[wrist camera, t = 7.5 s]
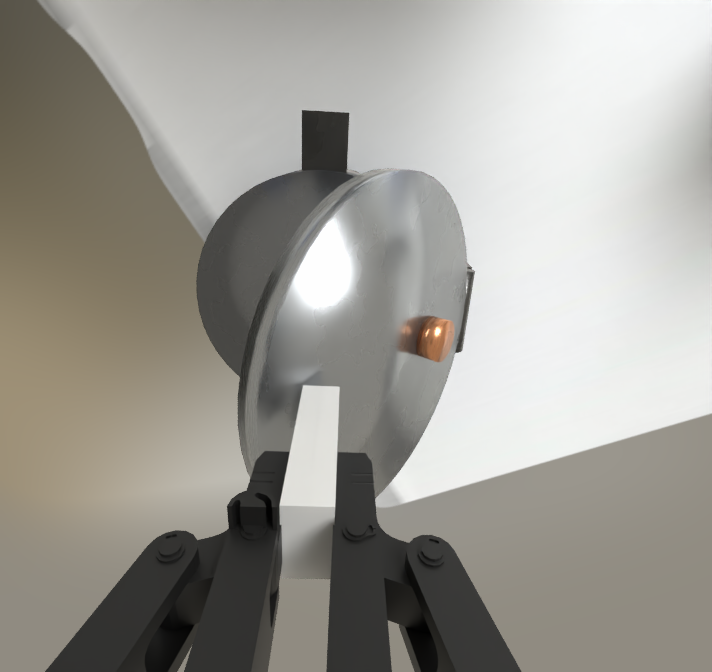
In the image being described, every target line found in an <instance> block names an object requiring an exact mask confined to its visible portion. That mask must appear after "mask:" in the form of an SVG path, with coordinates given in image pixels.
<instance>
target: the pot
mask: <svg viewBox="0 0 712 672" xmlns="http://www.w3.org/2000/svg"><path fill="white" fill-rule="evenodd" d="M348 127H349V113H340V112H323V111H306V110H302V170H299V171H295V172H292V173H288V174H285V175H282V176H278V177H275V178H272V179H269V180H267V181H265V182H263V183H261V184H259V185H257V186H255V187H253V188H252V189H250V190H249V191H247V192H246V193H244V194H243V195H241V196H240V197H239V198H238V199H237V200H236V201H234V202H233V203H232V204H231V205H230V206H229V207H228V208H227V209H226V210H225V212H224V213H223V214H222V215H221V216H220V218H219V219H218V220H217V222H216V223H215V225H214V227H213V228H212V230H211V231H210V233H209V235H208V237H207V240H206V242H205V244H204V247H203V249H202V253H201V257H200V260H199V264H198V272H197V299H198V306H199V312H200V315H201V318H202V322H203V325H204V328H205V330H206V332H207V334H208V336H209V338H210V341H211V342H212V344H213V346H214V347H215V349H216V350H217V352H218V354H219V355H220V356H221V357H222V359H223V360H224V361H225V362H226V364H227V365H228V366H229V367H230V368H231V369H232V370H233V371H234V372H235V373H236V374H237V375H239V376H240V373H241V365H242V361H243V356H244V351H245V347H246V342H247V338H248V333H249V330H250V327H251V324H252V321H253V318H254V315H255V312H256V309H257V305H258V302H259V300H260V298H261V295H262V293H263V291H264V288H265V286H266V284H267V281H268V279H269V277H270V275H271V272H272V270H273V269H274V267H275V265H276V263H277V261H278V260H279V258H280V256H281V254H282V252H283V251H284V249H285V247H286V245H287V244H288V242H289V241H290V239H291V238H292V237H293V235H294V234H295V232H296V231H297V229H298V228H299V227H300V225H301V224H302V222H303V221H304V220H305V219H306V217H307V216H308V215H309V214H310V213H311V212H312V211H313V210H314V209H315V208H316V206H317V205H318V204H319V203H320V202H321V201H322V200H323V199H324V198H325V197H327V196H328V195H329V194H330V193H331V192H333V191H334V190H335V189H336V188H337V187H339V186H340V185H342V184H343V183H345V182H347V181H348V180H350V179H352V178H353V177H355V176H357V175H360V174H361V173H358V172H356V171H352V170H349V169H347V152H348ZM467 269H472V267H471V266H470V265H469V264H468V263H467Z"/></svg>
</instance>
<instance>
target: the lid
mask: <svg viewBox="0 0 712 672" xmlns="http://www.w3.org/2000/svg"><path fill="white" fill-rule="evenodd" d="M474 274H475V271H474V270H471V269H467V256H466V245H465V237H464V232H463V227H462V223H461V219H460V216H459V213H458V211H457V208H456V206H455V204H454V202H453V200H452V198H451V196H450V194H449V193H448V192H447V190H446V189H445V188H444V186H443V185H442V184H441V183H439V182H438V181H437V180H436V179H435V178H434V177H432V176H430V175H428V174H425V173H423V172H419V171H413V170H403V169H389V168H387V169H377V170H371V171H368V172H366V173H363V174H360V175H357V176H355V177H353V178H352V179H350V180H348V181H347V182H345V183H343V184H342V185H340V186H339V187H337V188H336V189H335V190H334V191H333V192H331V193H330V194H329V195H328V196H327V197H325V198H324V199H323V200H322V201H321V202H320V203H319V204H318V205H317V206H316V208H315V209H314V210H313V211H312V212H311V213H310V214H309V215H308V216H307V217H306V219H305V220H304V221H303V222H302V224H301V225H300V227H299V228H298V229H297V231H296V232H295V234H294V235H293V237H292V238H291V239H290V241H289V242H288V244H287V245H286V247H285V249H284V251H283V252H282V254H281V256H280V258H279V260H278V261H277V263H276V265H275V267H274V269H273V270H272V272H271V275H270V277H269V279H268V281H267V284H266V286H265V288H264V291H263V293H262V295H261V298H260V300H259V302H258V305H257V309H256V312H255V315H254V318H253V321H252V324H251V327H250V330H249V333H248V338H247V342H246V347H245V351H244V356H243V361H242V365H241V373H240V382H239V392H238V429H239V437H240V445H241V451H242V455H243V458H244V461H245V465H246V468H247V472H248V474H249V475H250V478H251V475H252V472H253V468H254V465H255V462H256V460H257V459H258V458H259V457H260V456H261V454H262V453H263V452H264V451H284V452H290V449H291V444H292V439H293V434H294V429H295V424H296V419H297V414H298V409H299V403H300V398H301V393H302V388H303V385H308V386H337V387H340V388H339V416H338V444H337V452H352V453H366V454H367V456H368V457H369V459H370V460H371V462H372V467H373V480H374V492H375V498H376V497H377V496H378V495H379V494H380V493H381V492H382V491H383V490H384V489H385V488H386V487H387V486H388V485H389V483H390V482H391V481H392V480H393V479H394V477H395V476H396V475H397V473H398V472H399V471H400V470H401V468H402V467H403V465H404V464H405V462H406V461H407V460H408V458H409V457H410V455H411V454H412V452H413V450H414V449H415V447H416V445H417V444H418V442H419V440H420V438H421V437H422V435H423V433H424V431H425V429H426V427H427V425H428V423H429V421H430V419H431V417H432V415H433V413H434V411H435V409H436V406H437V404H438V402H439V399H440V397H441V394H442V392H443V389H444V386H445V384H446V381H447V378H448V375H449V372H450V369H451V366H452V362H453V359H454V355H455V353H458V352H461V351H462V349H463V342H464V336H465V330H466V324H467V317H468V311H469V305H470V299H471V292H472V286H473V280H474Z"/></svg>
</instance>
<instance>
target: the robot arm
mask: <svg viewBox="0 0 712 672" xmlns="http://www.w3.org/2000/svg"><path fill="white" fill-rule="evenodd" d="M339 388H340V387H337V386H308V385H303V388H302V393H301V398H300V403H299V409H298V414H297V419H296V424H295V429H294V434H293V439H292V444H291V449H290V452H284V451H264V452H263V453H262V454H261V456H260V457H259V458H258V459H257V460H256V462H255V465H254V468H253V472H252V475H251V478H250V483H249V485H248V488H247V491H244V492H242V493H239V494H238V495H236V496H235V497H234V498H232V499H231V501H230V502H229V504H228V506H227V510H228V522H229V529H228V530H227V531H225V532H223V533H221V534H219V535H216V536H213V537H209V538H205V539H201V540H197V539H196V538H195V536H194V535H193V534H191V533H189V532H187V531H172V532H168V533H165V534H163V535H161V536H159V537H157V538H156V539H155V540H153V541H152V542H151V543H150V544H149V545H148V546H147V548H146V549H145V550H144V551H143V552H142V554H141V555H140V556H139V557H138V558H137V560H136V561H135V562H134V563H133V565H132V566H131V567H130V568H129V570H128V571H127V572H126V573H125V574H124V576H123V577H122V578H121V579H120V581H119V582H118V583H117V584H116V586H115V587H114V588H113V589H112V590H111V592H110V593H109V594H108V595H107V597H106V598H105V599H104V600H103V601H102V603H101V604H100V605H99V606H98V608H97V609H96V610H95V611H94V613H93V614H92V615H91V616H90V617H89V619H88V620H87V621H86V622H85V624H84V625H83V626H82V627H81V628H80V630H79V631H78V632H77V633H76V635H75V636H74V637H73V638H72V640H71V641H70V642H69V643H68V644H67V646H66V647H65V648H64V649H63V651H62V652H61V653H60V654H59V656H58V657H57V658H56V659H55V660H54V662H53V663H52V664H51V665H50V666H49V668H48V669H47V670H46V671H45V672H177V671H178V669H179V668H180V666H181V664H182V662H183V660H184V659H185V657H186V655H187V653H188V651H189V649H190V648H191V646H192V648H191V651H190V654H189V658H188V661H187V664H186V667H185V670H184V672H268V666H269V659H270V652H271V646H272V639H273V633H274V626H275V620H276V614H277V607H278V601H279V580H280V574H281V578H297V579H331V581H330V582H331V583H330V605H329V628H328V650H327V672H392V670H391V657H390V645H389V633H388V621H387V620H389V621H392V622H395V623H397V624H399V628H400V631H401V634H402V636H403V639H404V642H405V645H406V648H407V651H408V654H409V656H410V660H411V662H412V665H413V668H414V671H415V672H521V670H520V668H519V667H518V665H517V663H516V661H515V659H514V658H513V656H512V654H511V652H510V650H509V649H508V647H507V645H506V643H505V641H504V639H503V638H502V636H501V634H500V632H499V630H498V629H497V627H496V625H495V624H494V621H493V620H492V618H491V616H490V614H489V612H488V611H487V609H486V607H485V605H484V603H483V602H482V600H481V598H480V596H479V594H478V592H477V591H476V589H475V587H474V585H473V583H472V582H471V580H470V578H469V576H468V575H467V573H466V571H465V569H464V567H463V565H462V564H461V562H460V560H459V558H458V556H457V555H456V553H455V551H454V550H453V548H452V547H451V546H450V545H449V544H448V543H447V542H446V541H444V540H443V539H441V538H439V537H436V536H432V535H421V536H418V537H416V538H414V539H413V540H412V541H411V542H410V543H406V542H404V541H400V540H397V539H395V538H392V537H391V536H389V535H388V534H386V533H385V532H384V531H383V530H382V529H381V528H380V526H379V524H378V522H377V517H376V505H375V492H374V480H373V467H372V462H371V460H370V459H369V457H368V456H367V454H366V453H352V452H337V444H338V416H339ZM192 644H193V645H192Z"/></svg>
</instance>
